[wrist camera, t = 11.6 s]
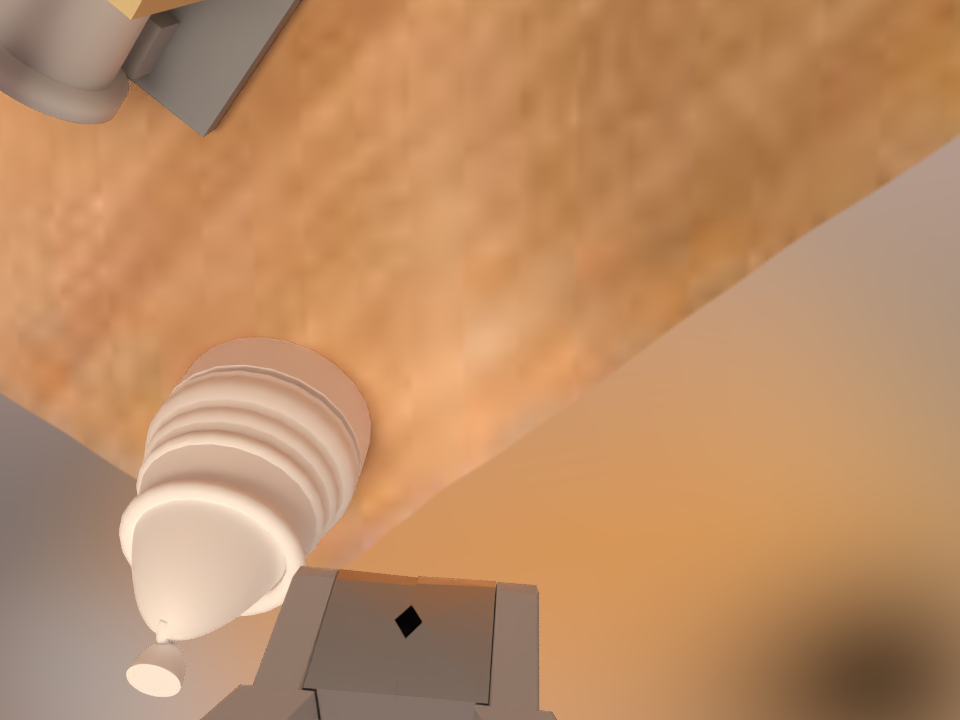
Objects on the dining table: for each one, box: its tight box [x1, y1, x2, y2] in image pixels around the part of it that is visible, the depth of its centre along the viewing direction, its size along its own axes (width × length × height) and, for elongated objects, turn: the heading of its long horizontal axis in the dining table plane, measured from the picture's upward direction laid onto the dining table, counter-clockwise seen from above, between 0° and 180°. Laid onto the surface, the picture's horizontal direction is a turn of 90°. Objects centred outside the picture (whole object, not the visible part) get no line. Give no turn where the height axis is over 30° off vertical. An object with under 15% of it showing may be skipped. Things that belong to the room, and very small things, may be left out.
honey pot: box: [119, 337, 371, 697], centre depth 40 cm, size 13×13×18 cm
